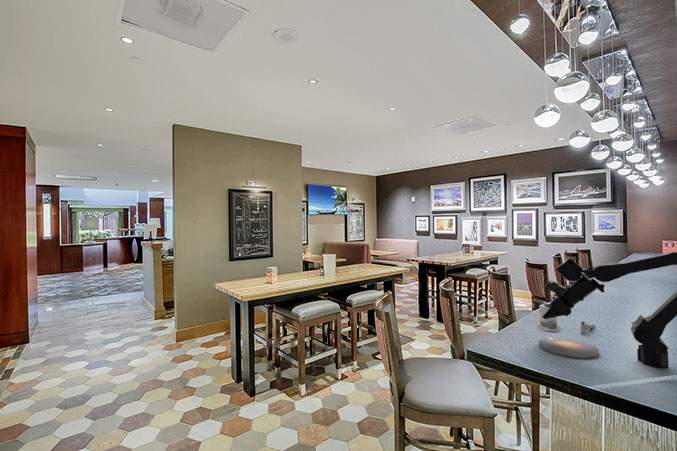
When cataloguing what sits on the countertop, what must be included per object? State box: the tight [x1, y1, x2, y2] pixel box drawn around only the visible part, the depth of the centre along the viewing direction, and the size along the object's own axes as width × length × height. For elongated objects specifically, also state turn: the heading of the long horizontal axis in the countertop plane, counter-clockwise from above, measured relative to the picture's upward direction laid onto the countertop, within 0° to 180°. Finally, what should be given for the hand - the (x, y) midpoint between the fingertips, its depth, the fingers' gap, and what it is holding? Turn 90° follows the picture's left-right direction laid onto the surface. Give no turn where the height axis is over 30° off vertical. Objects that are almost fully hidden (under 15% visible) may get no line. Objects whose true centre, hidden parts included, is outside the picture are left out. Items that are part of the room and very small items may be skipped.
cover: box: [536, 302, 562, 334], centre depth 120 cm, size 8×8×10 cm
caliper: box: [580, 321, 596, 335], centre depth 138 cm, size 20×1×6 cm, turn 130°
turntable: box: [538, 336, 600, 359], centre depth 116 cm, size 18×18×1 cm
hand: (544, 316), depth 120 cm, fingers closed on cover, 6 cm apart
